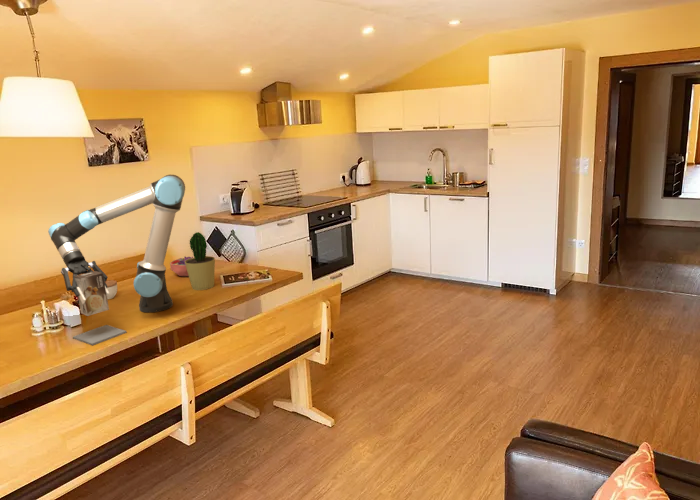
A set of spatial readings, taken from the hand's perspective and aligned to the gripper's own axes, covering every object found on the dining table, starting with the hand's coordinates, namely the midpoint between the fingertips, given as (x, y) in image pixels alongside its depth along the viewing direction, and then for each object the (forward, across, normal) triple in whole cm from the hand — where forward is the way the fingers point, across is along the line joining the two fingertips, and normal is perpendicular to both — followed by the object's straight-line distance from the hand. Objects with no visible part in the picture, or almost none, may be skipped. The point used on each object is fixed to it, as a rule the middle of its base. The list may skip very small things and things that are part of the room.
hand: (96, 298), depth 221 cm
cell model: (-24, -75, -48) cm, 93 cm away
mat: (+10, 0, -14) cm, 17 cm away
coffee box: (+2, 0, -7) cm, 7 cm away
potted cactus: (-4, -66, -28) cm, 72 cm away
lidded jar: (-24, -28, -48) cm, 61 cm away
